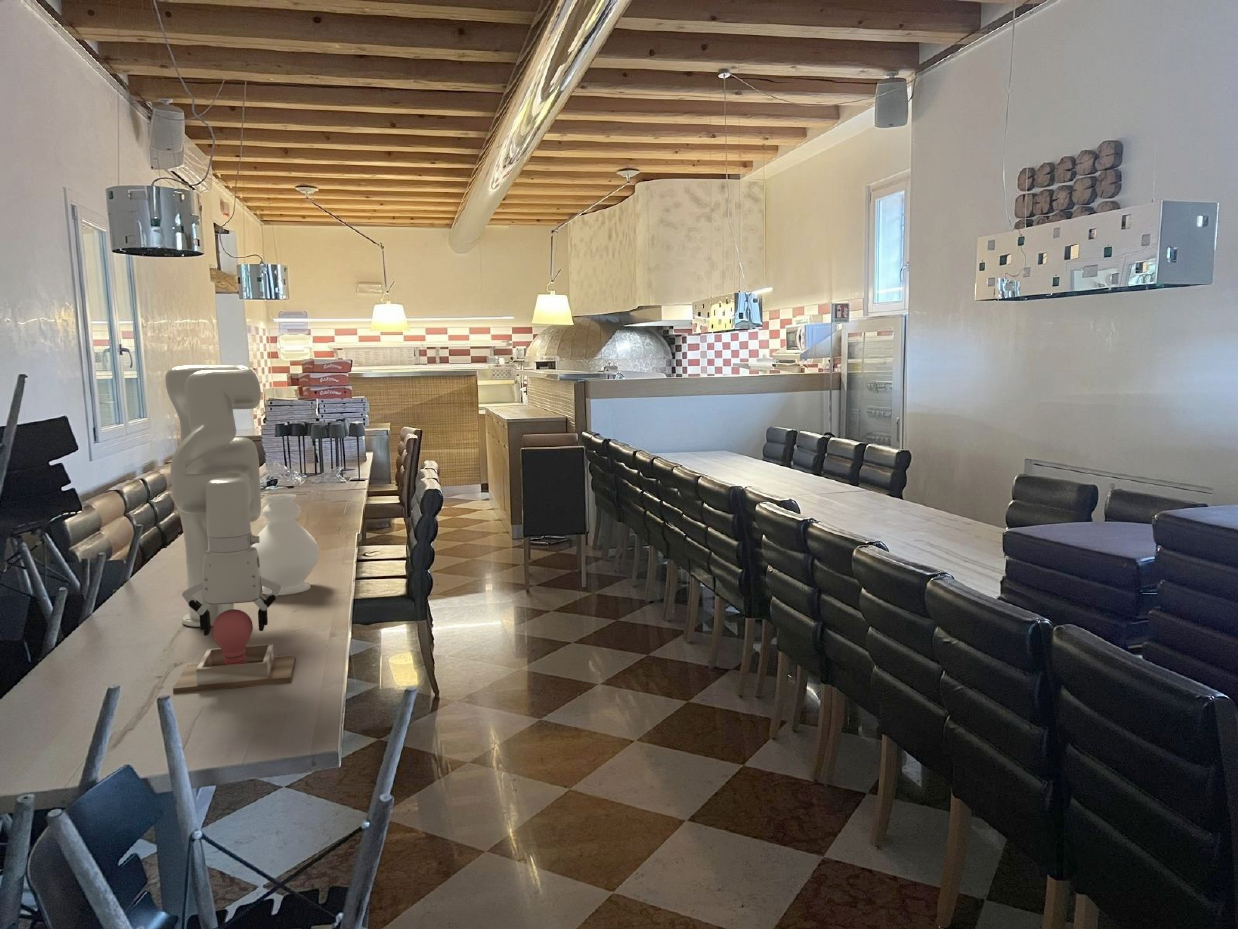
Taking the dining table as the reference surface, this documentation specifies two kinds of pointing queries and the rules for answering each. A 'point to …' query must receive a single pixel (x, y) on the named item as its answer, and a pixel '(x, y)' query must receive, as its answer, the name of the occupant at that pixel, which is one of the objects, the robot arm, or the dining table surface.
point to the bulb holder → (236, 670)
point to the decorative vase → (285, 546)
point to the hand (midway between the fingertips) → (234, 631)
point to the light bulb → (233, 635)
